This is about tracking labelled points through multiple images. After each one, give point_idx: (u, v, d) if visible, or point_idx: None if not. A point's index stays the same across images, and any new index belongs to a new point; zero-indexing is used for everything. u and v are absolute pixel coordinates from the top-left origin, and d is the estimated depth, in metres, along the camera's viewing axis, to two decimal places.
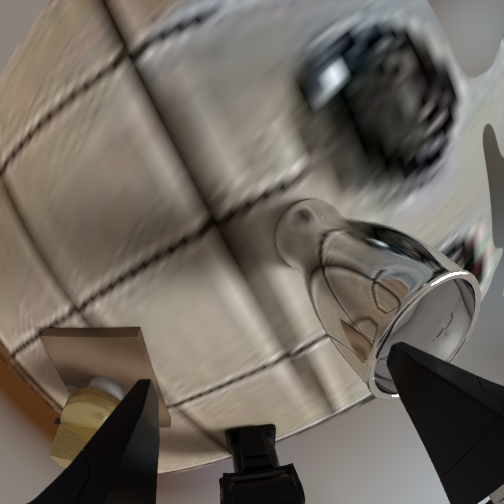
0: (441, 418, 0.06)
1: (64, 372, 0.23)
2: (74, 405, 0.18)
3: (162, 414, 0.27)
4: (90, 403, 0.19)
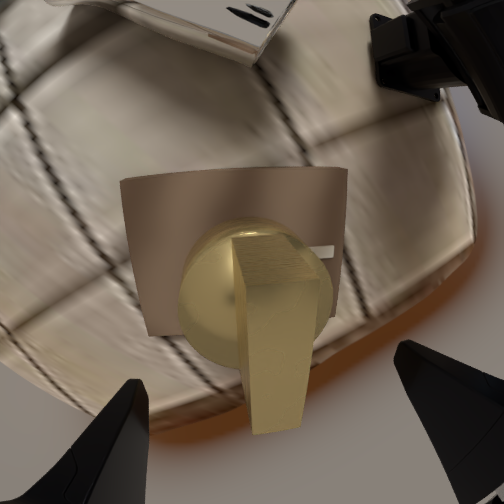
0: (448, 414, 0.06)
1: None
2: None
3: (308, 173, 0.17)
4: None
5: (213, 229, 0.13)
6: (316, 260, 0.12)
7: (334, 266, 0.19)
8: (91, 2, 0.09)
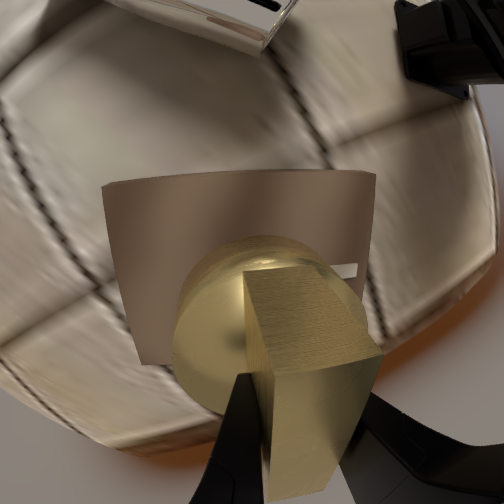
0: (356, 455, 0.06)
1: None
2: None
3: (331, 177, 0.14)
4: None
5: (216, 252, 0.10)
6: (352, 296, 0.09)
7: (356, 286, 0.16)
8: None
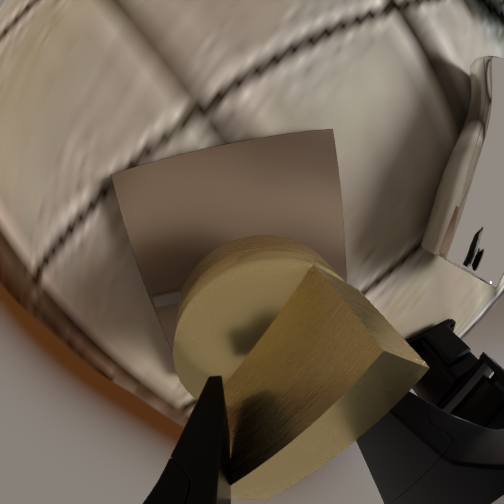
0: (383, 445, 0.06)
1: (154, 261, 0.14)
2: (176, 328, 0.09)
3: None
4: (197, 285, 0.09)
5: (269, 237, 0.11)
6: None
7: None
8: (478, 103, 0.12)
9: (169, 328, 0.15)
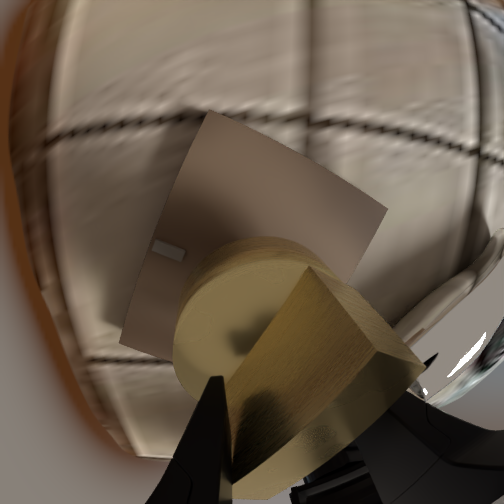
0: (382, 446, 0.06)
1: (183, 209, 0.13)
2: (175, 331, 0.09)
3: None
4: (194, 288, 0.09)
5: (266, 239, 0.11)
6: None
7: None
8: (488, 259, 0.17)
9: (146, 277, 0.14)
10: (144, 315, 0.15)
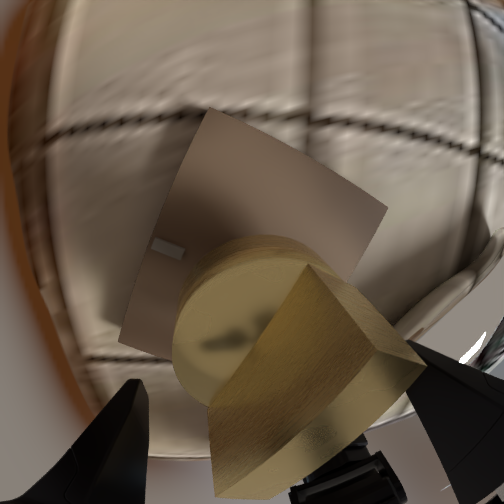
0: (448, 414, 0.06)
1: (183, 207, 0.13)
2: (174, 331, 0.09)
3: None
4: (193, 288, 0.09)
5: (265, 237, 0.11)
6: None
7: None
8: (488, 259, 0.17)
9: (145, 276, 0.14)
10: (143, 314, 0.15)
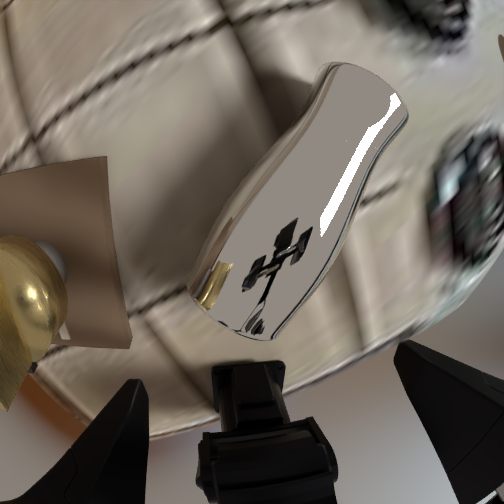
0: (448, 414, 0.06)
1: None
2: None
3: (118, 320, 0.19)
4: None
5: None
6: (19, 279, 0.10)
7: (56, 339, 0.18)
8: (292, 122, 0.14)
9: None
10: None
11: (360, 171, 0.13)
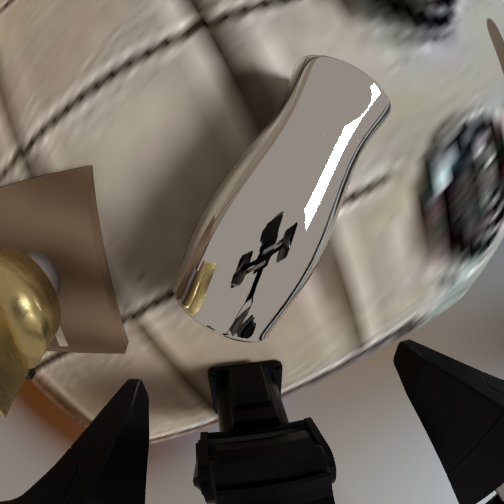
0: (448, 414, 0.06)
1: None
2: None
3: (112, 325, 0.19)
4: None
5: None
6: (11, 289, 0.10)
7: (54, 346, 0.19)
8: (270, 119, 0.14)
9: None
10: None
11: (340, 165, 0.13)
